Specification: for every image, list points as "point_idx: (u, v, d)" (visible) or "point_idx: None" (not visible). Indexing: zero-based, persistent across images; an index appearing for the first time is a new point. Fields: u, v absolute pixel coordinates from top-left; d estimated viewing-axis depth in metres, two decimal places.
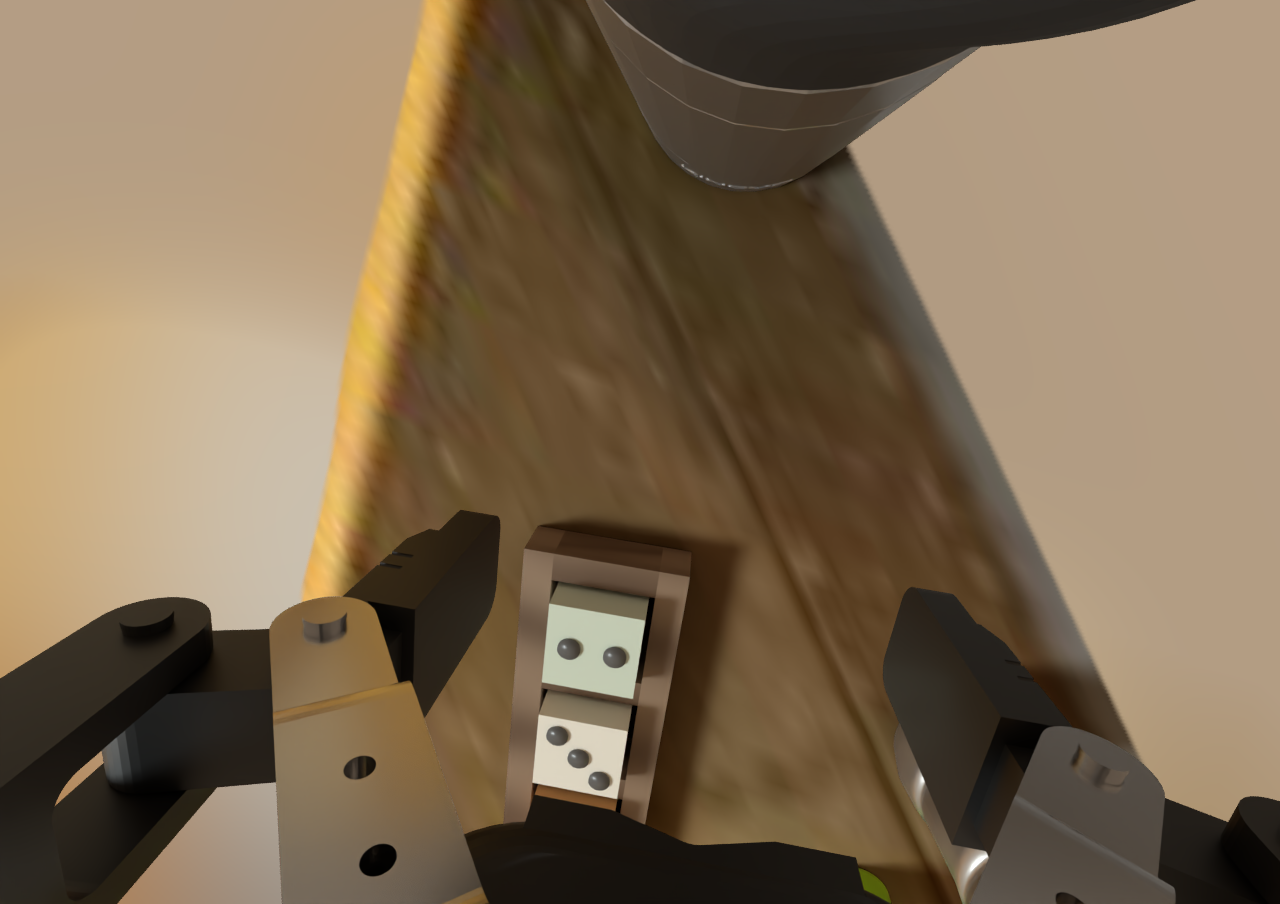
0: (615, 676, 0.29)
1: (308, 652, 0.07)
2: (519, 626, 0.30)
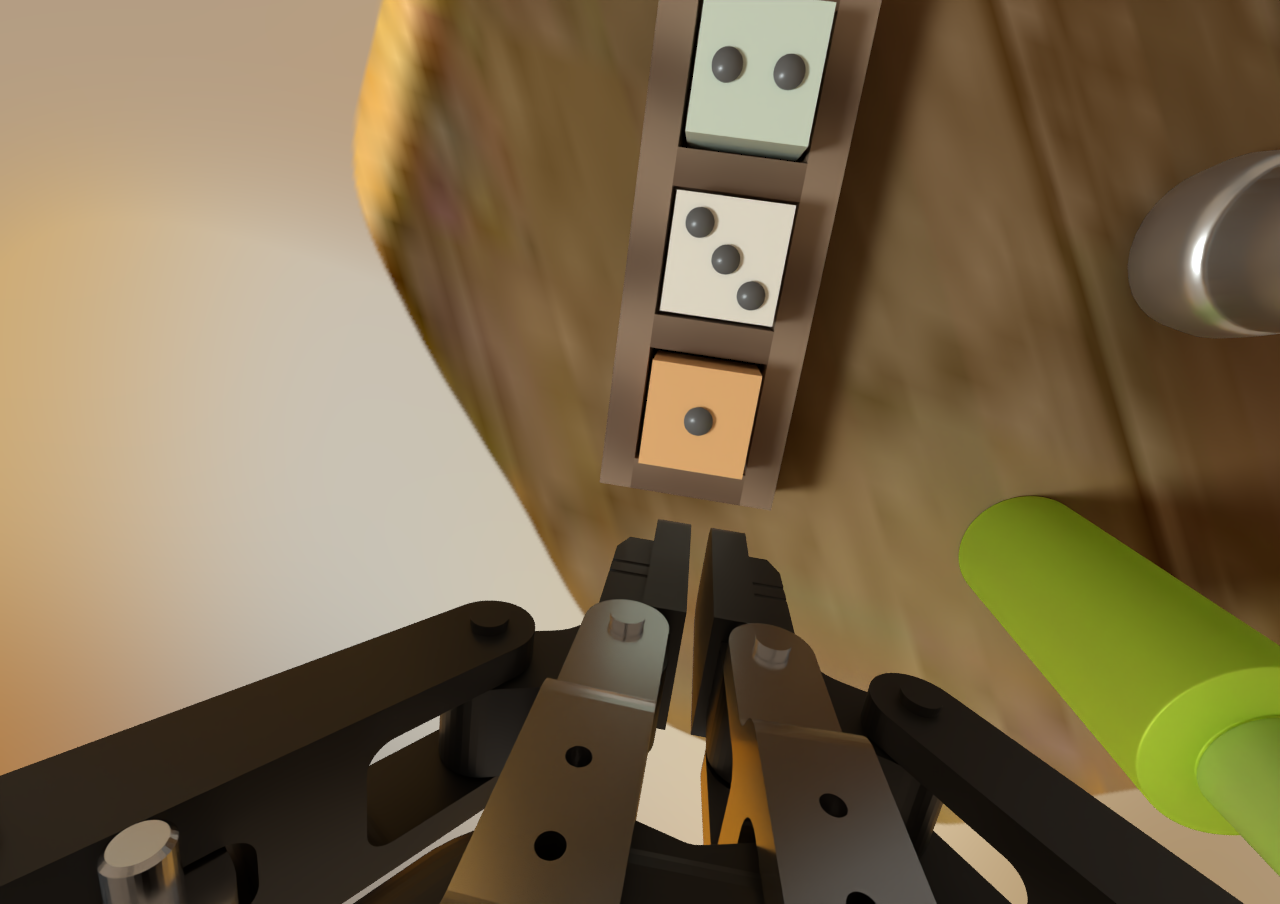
0: (787, 108, 0.22)
1: (633, 651, 0.08)
2: (650, 81, 0.23)
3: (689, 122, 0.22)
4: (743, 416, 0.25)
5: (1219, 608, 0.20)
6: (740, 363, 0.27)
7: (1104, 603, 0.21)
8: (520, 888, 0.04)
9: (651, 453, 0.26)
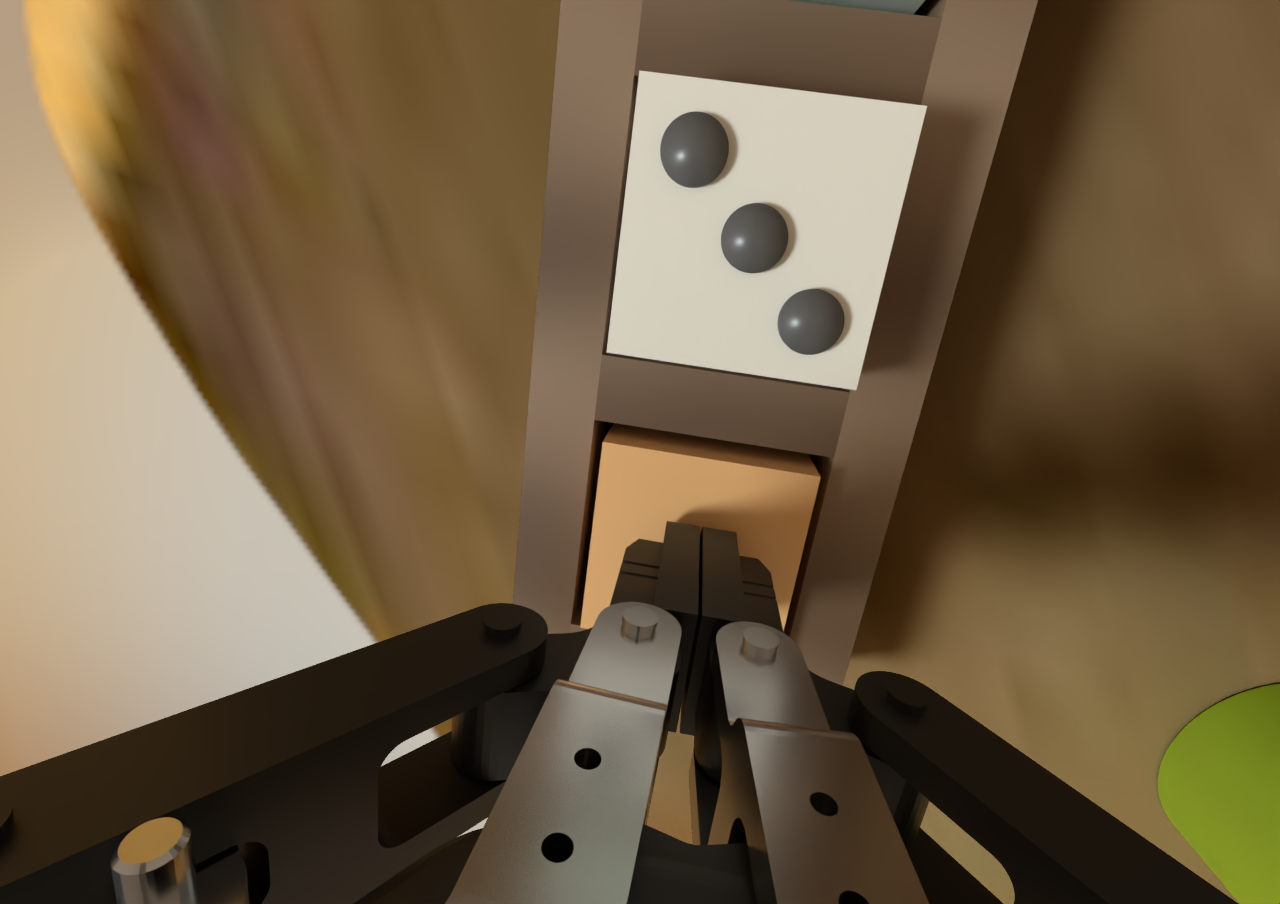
0: None
1: (647, 654, 0.08)
2: None
3: None
4: (782, 551, 0.13)
5: None
6: None
7: None
8: (527, 888, 0.04)
9: None
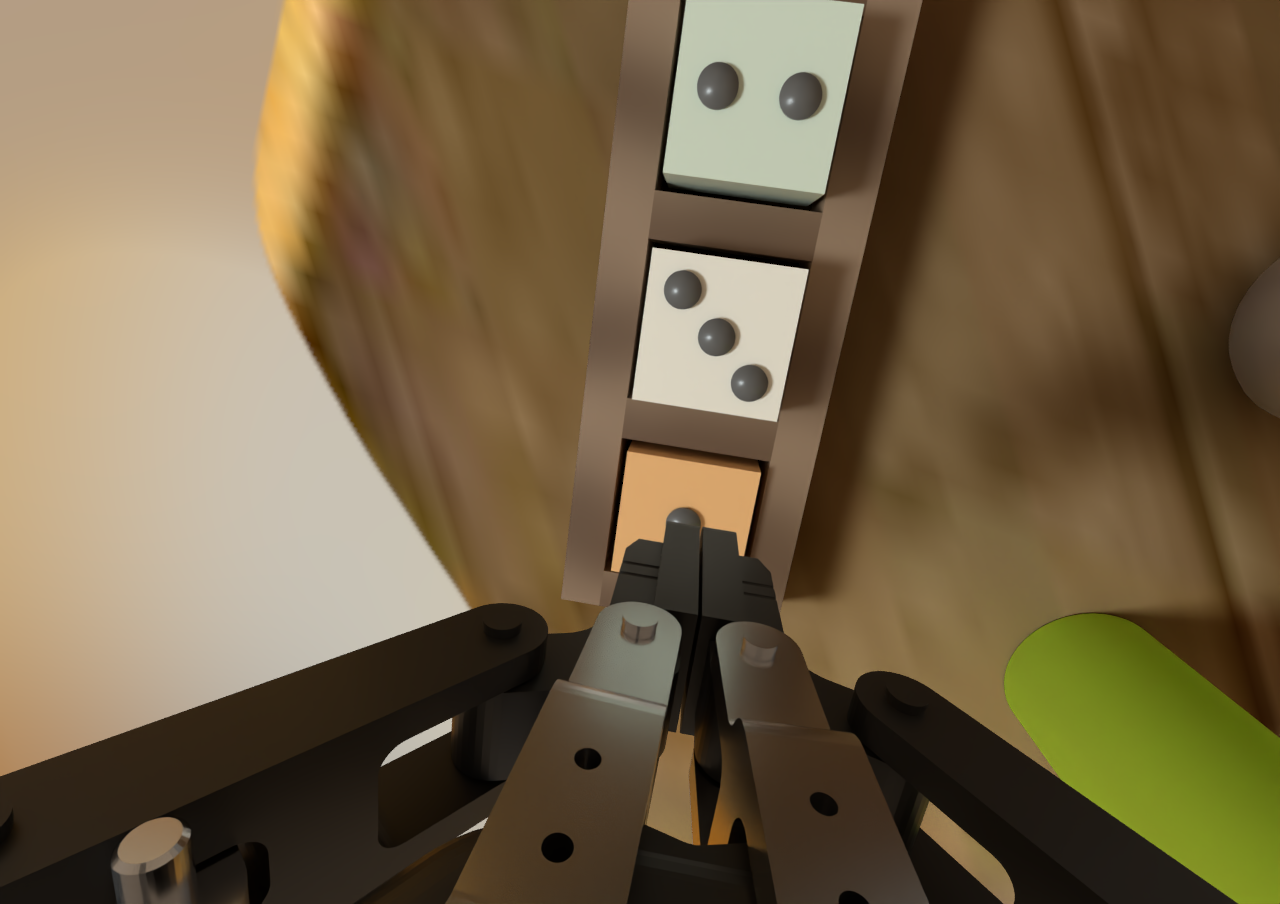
0: (797, 144, 0.16)
1: (647, 654, 0.08)
2: (618, 106, 0.18)
3: (668, 161, 0.17)
4: (738, 519, 0.21)
5: None
6: None
7: (1232, 817, 0.15)
8: (525, 889, 0.04)
9: None
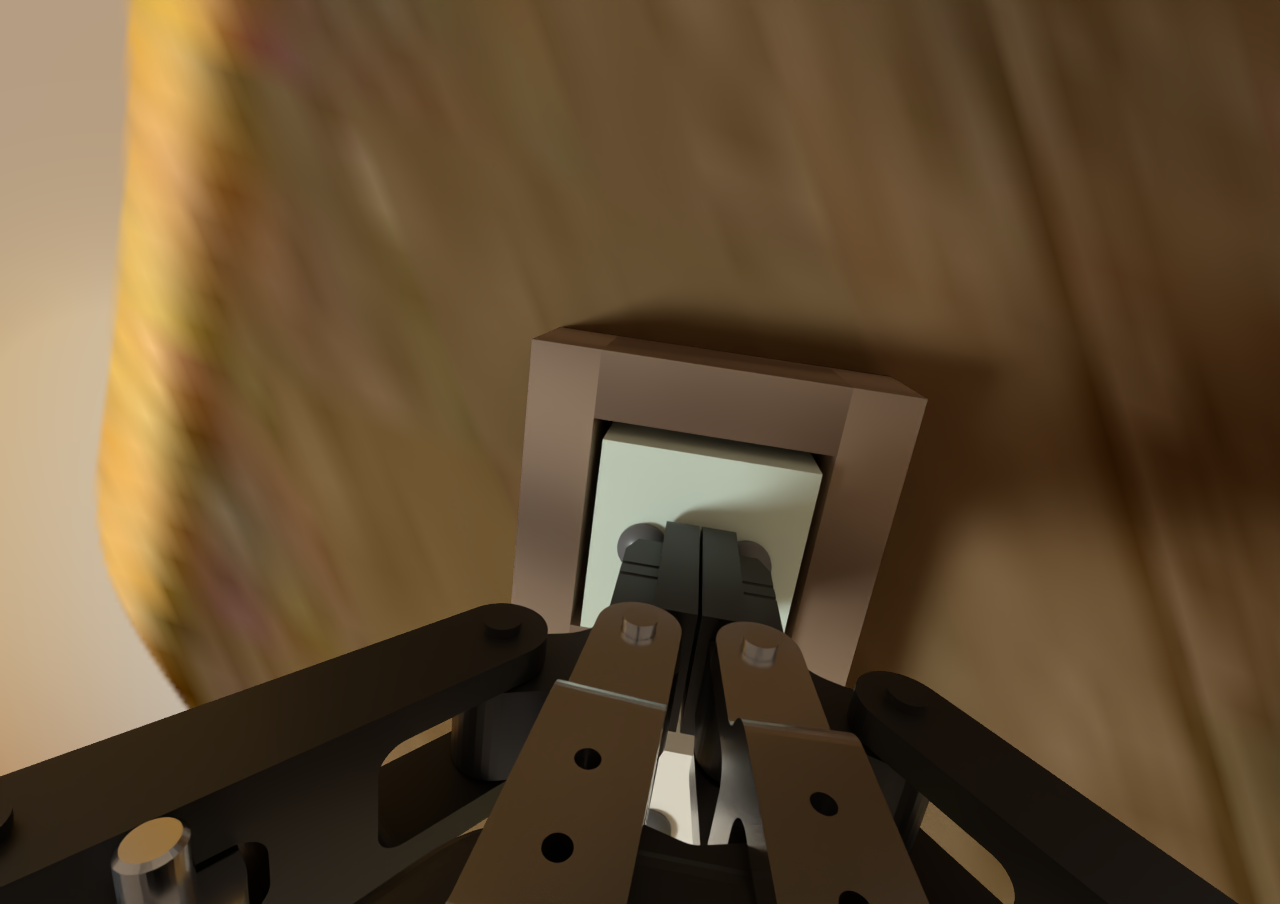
0: None
1: (647, 654, 0.08)
2: (519, 533, 0.14)
3: (586, 616, 0.14)
4: None
5: None
6: None
7: None
8: (527, 889, 0.04)
9: None
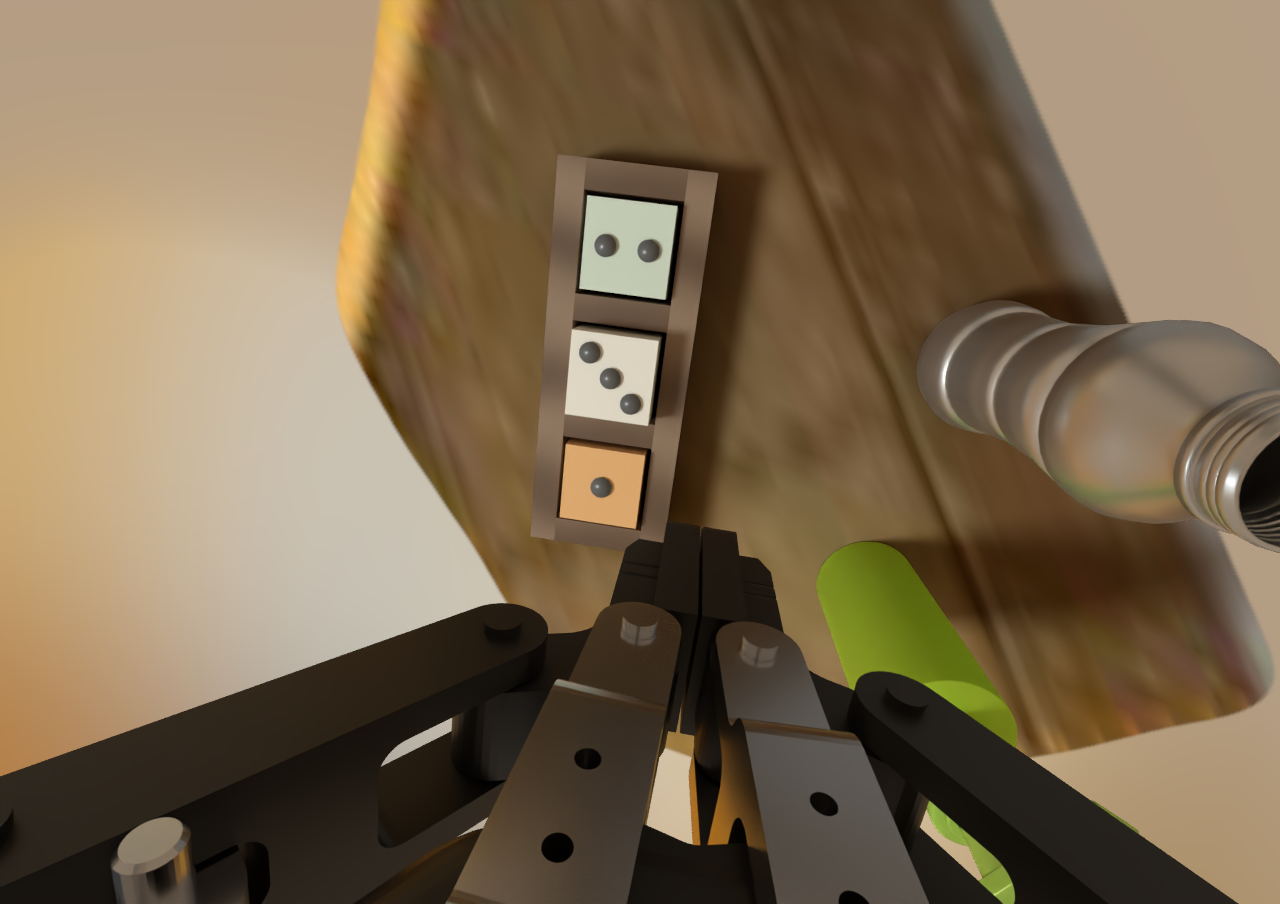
0: (649, 274, 0.31)
1: (647, 654, 0.08)
2: (552, 247, 0.31)
3: (581, 283, 0.31)
4: (633, 483, 0.34)
5: (947, 636, 0.28)
6: None
7: (875, 632, 0.29)
8: (525, 889, 0.04)
9: (568, 510, 0.35)
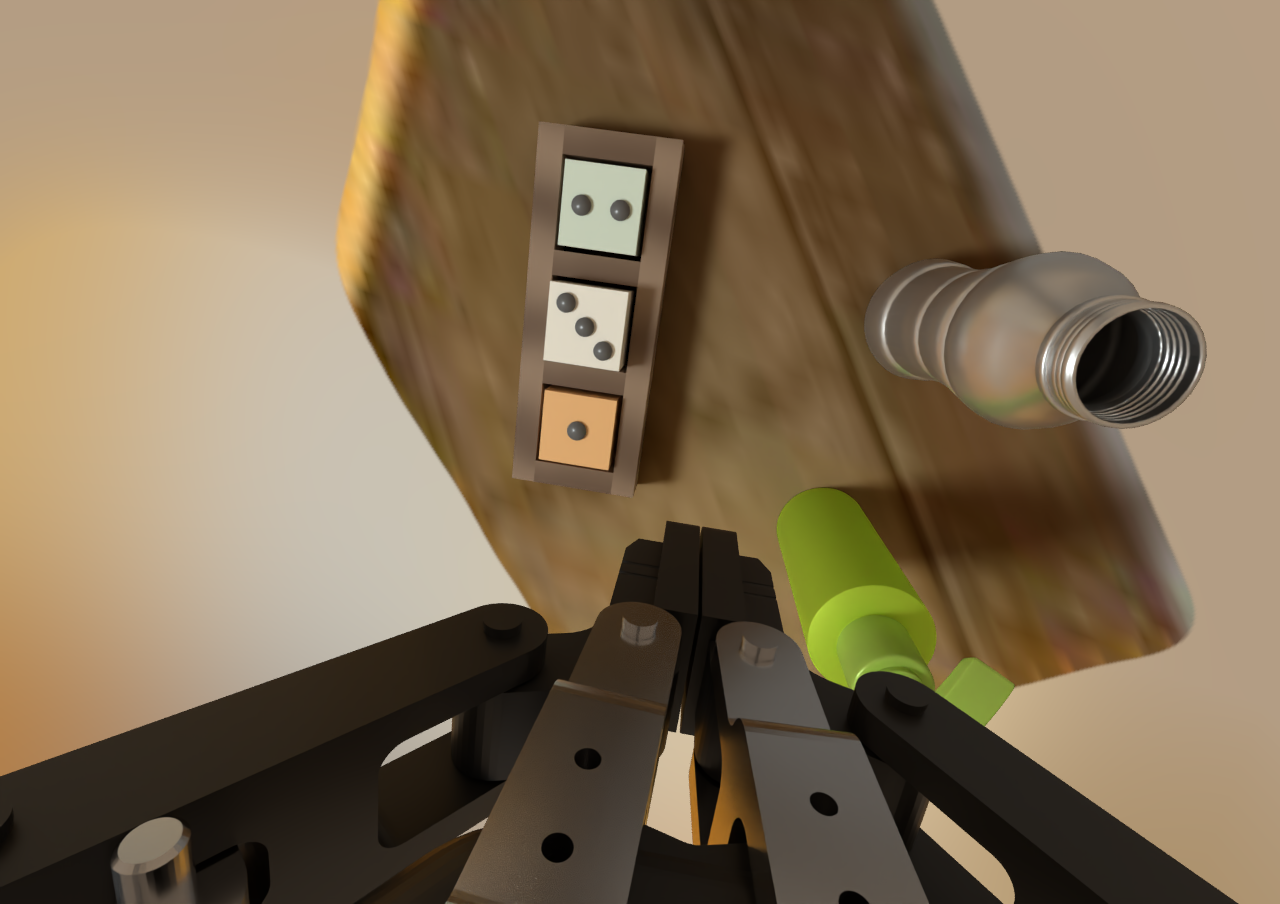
0: (620, 232, 0.34)
1: (647, 654, 0.08)
2: (533, 207, 0.34)
3: (559, 239, 0.34)
4: (606, 427, 0.37)
5: (881, 556, 0.31)
6: None
7: (818, 555, 0.32)
8: (527, 889, 0.04)
9: (547, 452, 0.38)
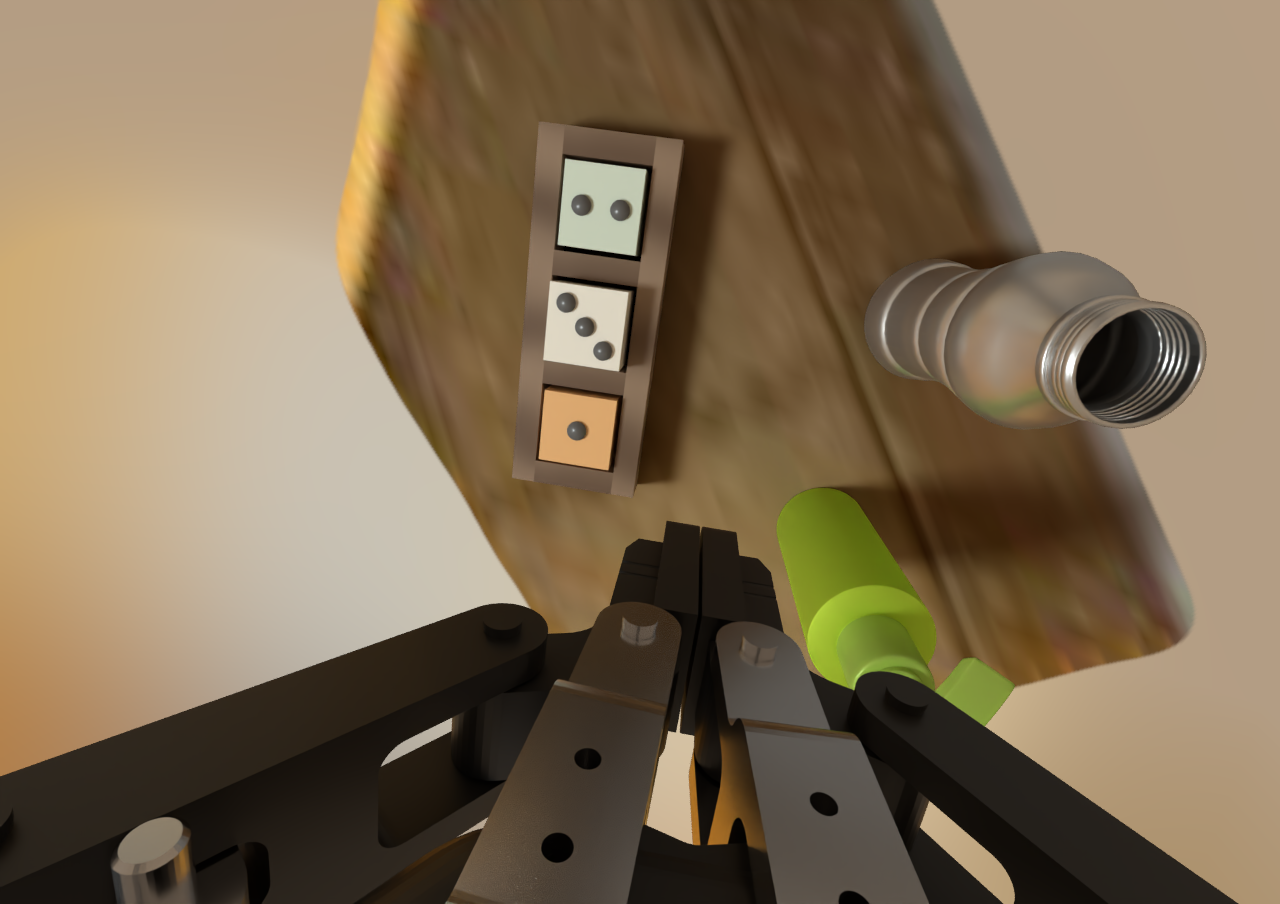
0: (620, 232, 0.34)
1: (647, 654, 0.08)
2: (533, 207, 0.34)
3: (559, 239, 0.34)
4: (606, 427, 0.37)
5: (881, 556, 0.31)
6: None
7: (818, 554, 0.32)
8: (525, 889, 0.04)
9: (547, 452, 0.38)
